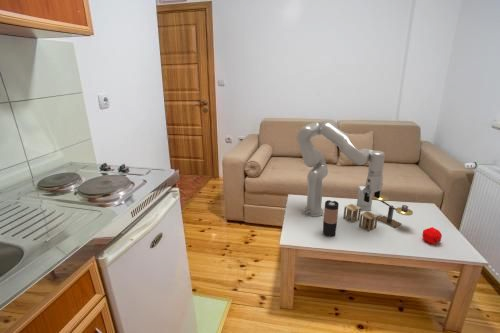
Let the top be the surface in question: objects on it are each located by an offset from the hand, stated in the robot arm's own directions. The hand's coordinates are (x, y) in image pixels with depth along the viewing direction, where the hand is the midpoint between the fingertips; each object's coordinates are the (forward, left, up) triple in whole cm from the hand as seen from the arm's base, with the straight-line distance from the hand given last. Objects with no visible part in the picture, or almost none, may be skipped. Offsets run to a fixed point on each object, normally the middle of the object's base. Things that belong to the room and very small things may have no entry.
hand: (371, 199), depth 168 cm
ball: (+16, -29, -19) cm, 38 cm away
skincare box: (+19, +17, -19) cm, 31 cm away
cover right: (0, 0, -19) cm, 19 cm away
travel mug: (-25, +8, -19) cm, 32 cm away
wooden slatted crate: (0, +12, -19) cm, 22 cm away
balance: (+16, -4, -19) cm, 25 cm away
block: (0, 0, -19) cm, 19 cm away
